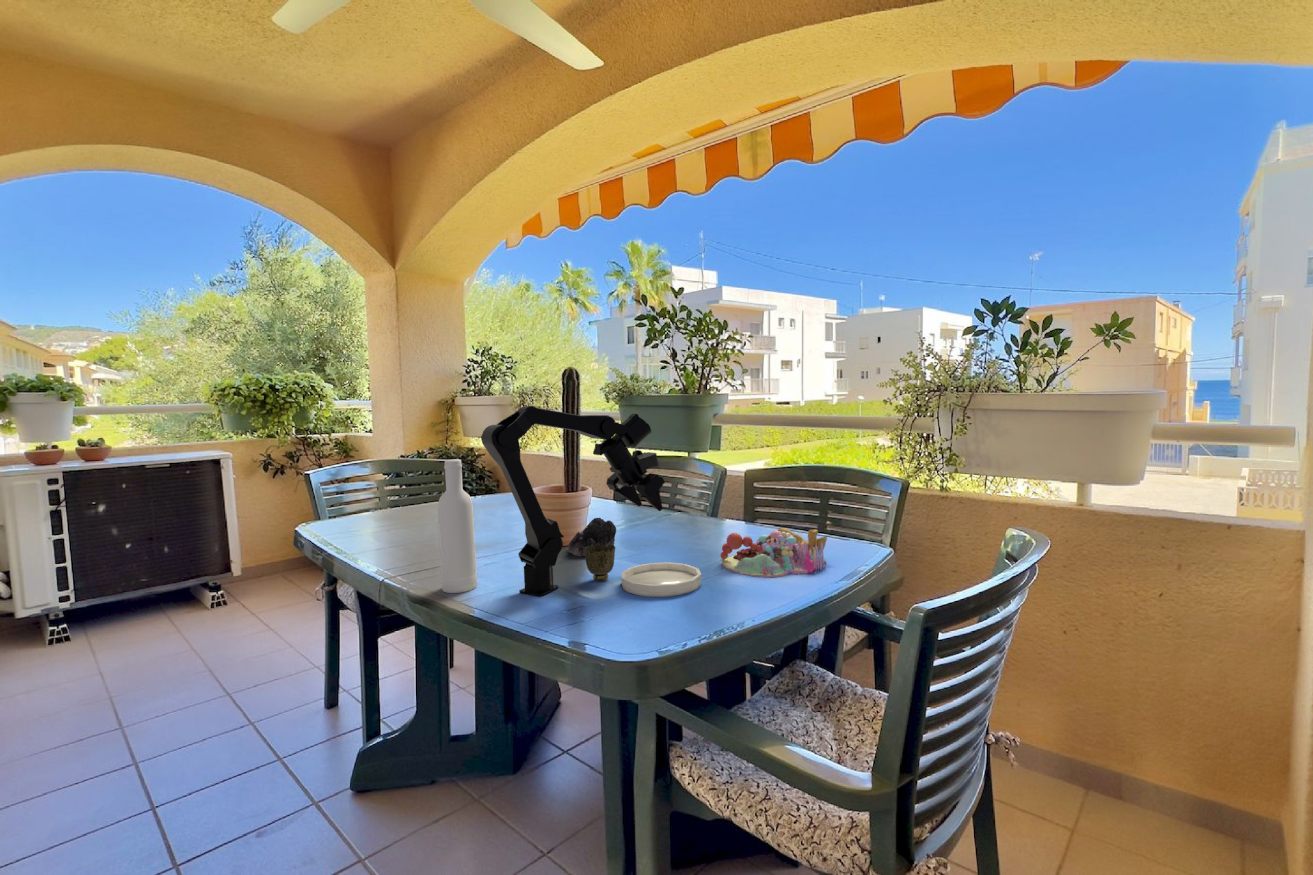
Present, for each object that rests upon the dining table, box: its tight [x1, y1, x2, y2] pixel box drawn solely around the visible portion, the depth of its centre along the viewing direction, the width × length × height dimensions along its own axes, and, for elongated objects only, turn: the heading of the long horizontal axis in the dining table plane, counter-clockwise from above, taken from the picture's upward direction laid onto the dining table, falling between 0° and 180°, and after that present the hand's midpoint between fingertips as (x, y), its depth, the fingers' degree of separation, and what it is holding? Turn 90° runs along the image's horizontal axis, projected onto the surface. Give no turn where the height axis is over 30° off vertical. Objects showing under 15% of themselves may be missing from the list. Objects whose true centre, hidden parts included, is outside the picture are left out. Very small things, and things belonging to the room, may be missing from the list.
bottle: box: [436, 458, 478, 594], centre depth 139 cm, size 8×8×30 cm
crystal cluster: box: [567, 517, 617, 557], centre depth 171 cm, size 14×14×10 cm
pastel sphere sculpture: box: [720, 527, 828, 578], centre depth 152 cm, size 25×24×9 cm
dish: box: [621, 561, 703, 598], centre depth 138 cm, size 18×18×2 cm
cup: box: [584, 543, 616, 582], centre depth 143 cm, size 8×7×8 cm
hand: (650, 507), depth 154 cm, fingers open, 9 cm apart
